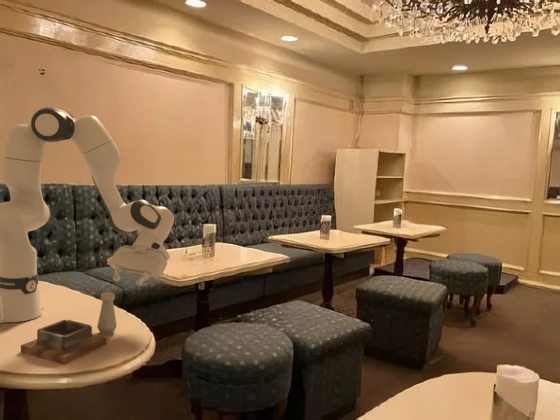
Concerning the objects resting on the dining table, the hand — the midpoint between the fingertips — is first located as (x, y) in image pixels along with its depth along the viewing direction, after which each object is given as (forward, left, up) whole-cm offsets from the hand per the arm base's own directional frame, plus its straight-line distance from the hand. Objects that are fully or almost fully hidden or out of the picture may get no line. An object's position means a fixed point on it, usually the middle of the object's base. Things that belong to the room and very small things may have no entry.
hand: (126, 282), depth 161 cm
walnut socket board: (-2, -24, -14) cm, 28 cm away
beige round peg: (0, -9, -15) cm, 17 cm away
